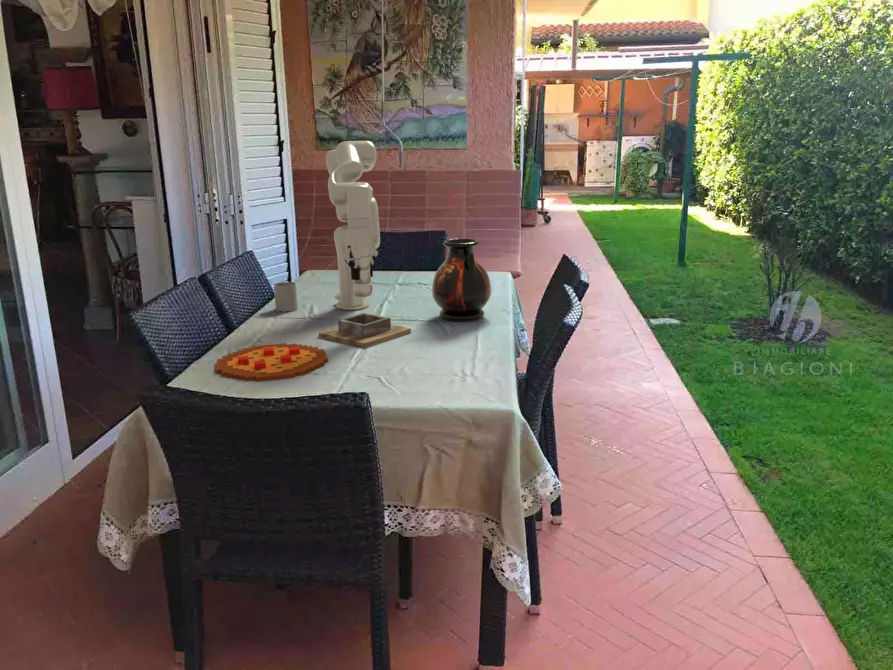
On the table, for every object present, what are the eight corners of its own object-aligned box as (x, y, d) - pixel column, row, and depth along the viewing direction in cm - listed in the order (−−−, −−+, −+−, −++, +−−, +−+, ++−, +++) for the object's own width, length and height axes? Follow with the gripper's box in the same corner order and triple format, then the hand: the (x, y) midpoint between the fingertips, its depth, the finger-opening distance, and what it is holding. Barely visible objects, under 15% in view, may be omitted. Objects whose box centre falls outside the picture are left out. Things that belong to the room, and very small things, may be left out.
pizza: (333, 374, 208) (332, 364, 208) (216, 387, 200) (215, 376, 199) (319, 344, 238) (319, 335, 237) (217, 354, 230) (216, 344, 229)
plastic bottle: (376, 295, 244) (374, 236, 239) (366, 299, 239) (363, 238, 233) (360, 294, 247) (357, 235, 242) (349, 298, 241) (346, 237, 236)
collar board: (318, 336, 245) (317, 321, 244) (365, 323, 261) (364, 308, 260) (364, 347, 232) (364, 331, 230) (410, 332, 248) (410, 317, 247)
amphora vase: (423, 313, 273) (421, 239, 265) (475, 307, 281) (475, 235, 273) (446, 327, 254) (445, 247, 246) (501, 320, 262) (501, 242, 254)
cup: (301, 307, 286) (299, 282, 283) (290, 312, 279) (288, 286, 276) (283, 306, 289) (281, 281, 286) (271, 311, 281) (269, 285, 278)
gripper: (369, 219, 245) (372, 272, 250) (331, 225, 232) (335, 281, 237) (386, 221, 240) (388, 275, 245) (348, 227, 228) (351, 283, 232)
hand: (362, 277), depth 241 cm, fingers closed on plastic bottle, 5 cm apart
